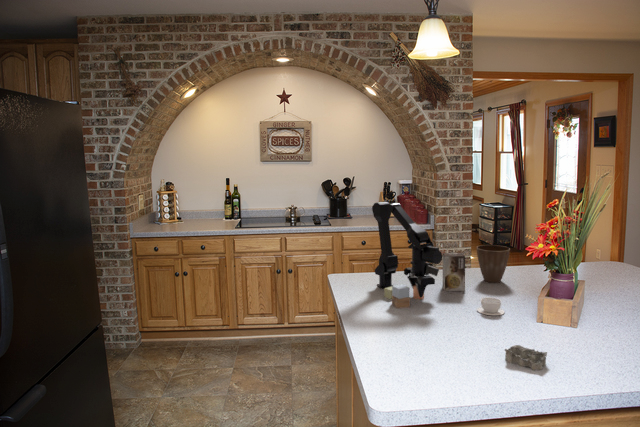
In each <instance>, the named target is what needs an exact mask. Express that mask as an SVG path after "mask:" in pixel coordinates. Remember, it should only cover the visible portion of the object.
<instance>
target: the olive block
mask: <svg viewBox="0 0 640 427" xmlns="http://www.w3.org/2000/svg"><path fill="white" fill-rule="evenodd" d="M383 291H384V293H383V294H384V296H383V297H384V298H386V299H388V300H392V287H387V288H384V290H383Z"/></svg>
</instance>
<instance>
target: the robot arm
mask: <svg viewBox="0 0 640 427" xmlns="http://www.w3.org/2000/svg"><path fill="white" fill-rule="evenodd" d="M371 211H372V214H373V215H372V216H373V217H374V219H375V221H376V222H377V225H378V234H379V236H378V237H379V244H380V252H381V253H380V256H379V259H378V265H377V267H375V269H374V273H375V275H377V276H378V278H379V279H378V281H379V282H378V283H377V284H376V286H377V287H378V288H379V289H381V290H382V289H384V288H387V287H392V286H394V285H393V284H392V283H393V279H392V277H393V276H392V275H394V274H396V272H397V270H398V268H399V264H400V263H399V261H398V260H399V259H398V258H399V256H398V255H396V254H395V253H394V252H393V247H392V238H391V231H390V230H391V229H390V223H389V221H390V218H391V216H392V215H393V216H394V218H395V219H396V220H397V221H398V223H399V224H400V225H401V227H402V228H403V229H404V231H406V237H407V238H408V240H409V242H410V245H409V246H408V247H407V248H408V249H411V250H412V251H411V253H412V254H411V261H410V265H411V267H405V268H404V269H403V275H405V276H406V278H407V280H408V281H409V283H410V285H411V288H412V289H413V286H414V285H416V287H417V290H418V293H419V296H420V297H423V294H424V295H425V291H426V288H427V286H429V285H435V284H436V279H435V278H434V277H437V276H438V273H439V272H440V268H438V267H435V266H433V264H434V265H439V264H440V263H441V262H442V261H443V253H442V252H441V250H440V247H439V246H434V243H433V241H432V240H431V238H430V236H429V235H430V234H429V233H428V231H427V230H426V229H424V227H422V226H420V225H418V224H417V223H416V222H414V220H413V219H412V218H411V216H409V214H408V213H407V212H406V210H404V208H403V207H402V204H400V202H391V203H390V202H388V201H380V202H379V201H378V202H375V203H373V205H372V207H371ZM431 275H432V276H434V277H432V276H431Z"/></svg>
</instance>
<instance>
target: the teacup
mask: <svg viewBox="0 0 640 427" xmlns="http://www.w3.org/2000/svg"><path fill="white" fill-rule="evenodd" d="M480 304H481V307H478V308H477V309H476V311H477V312H478V313H479V314H481V315H482V314H483V315H488V316H502V315H504V314H505V310H503V309H501V306H502V300H501V299H499V298H495V297H482V298H481V299H480Z"/></svg>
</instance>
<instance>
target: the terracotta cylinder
mask: <svg viewBox="0 0 640 427" xmlns="http://www.w3.org/2000/svg"><path fill="white" fill-rule="evenodd" d="M412 293H413V294H412V295H413V296H412V297H413V299H414V300H424V299H425V293H424V294H423V297H420V296H419V293H418V290H417V287H416V285H414V286H413V288H412Z"/></svg>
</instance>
